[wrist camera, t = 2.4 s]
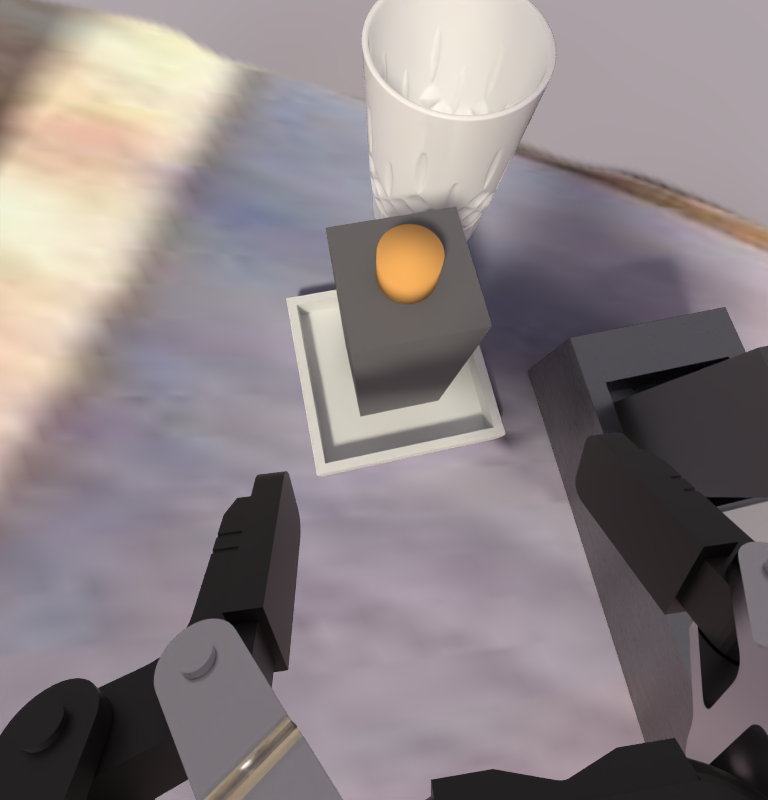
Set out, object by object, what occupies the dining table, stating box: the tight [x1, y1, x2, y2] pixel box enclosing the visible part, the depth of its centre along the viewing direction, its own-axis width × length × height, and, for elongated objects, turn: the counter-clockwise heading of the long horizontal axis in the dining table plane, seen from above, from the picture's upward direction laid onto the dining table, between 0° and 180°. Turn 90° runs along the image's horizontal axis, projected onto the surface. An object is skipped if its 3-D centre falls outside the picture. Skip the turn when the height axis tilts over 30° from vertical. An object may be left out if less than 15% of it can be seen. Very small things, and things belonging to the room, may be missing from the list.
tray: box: [286, 290, 506, 477], centre depth 22 cm, size 10×10×2 cm
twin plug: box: [613, 346, 768, 498], centre depth 16 cm, size 4×4×11 cm
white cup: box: [362, 0, 556, 241], centre depth 20 cm, size 8×8×10 cm
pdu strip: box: [528, 307, 768, 754], centre depth 18 cm, size 8×20×5 cm, turn 12°
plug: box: [326, 207, 492, 417], centre depth 17 cm, size 4×4×11 cm
